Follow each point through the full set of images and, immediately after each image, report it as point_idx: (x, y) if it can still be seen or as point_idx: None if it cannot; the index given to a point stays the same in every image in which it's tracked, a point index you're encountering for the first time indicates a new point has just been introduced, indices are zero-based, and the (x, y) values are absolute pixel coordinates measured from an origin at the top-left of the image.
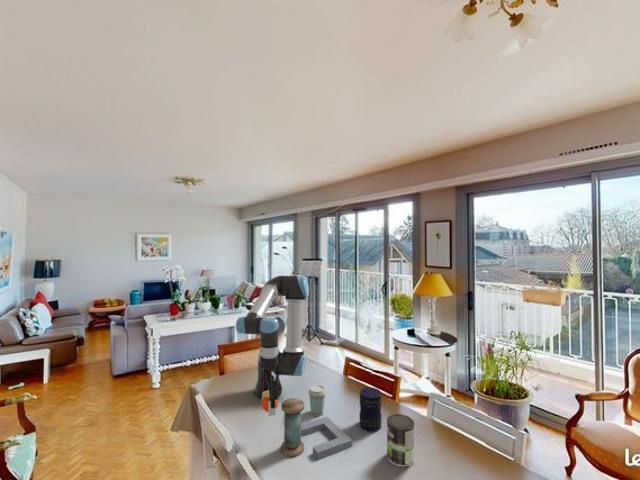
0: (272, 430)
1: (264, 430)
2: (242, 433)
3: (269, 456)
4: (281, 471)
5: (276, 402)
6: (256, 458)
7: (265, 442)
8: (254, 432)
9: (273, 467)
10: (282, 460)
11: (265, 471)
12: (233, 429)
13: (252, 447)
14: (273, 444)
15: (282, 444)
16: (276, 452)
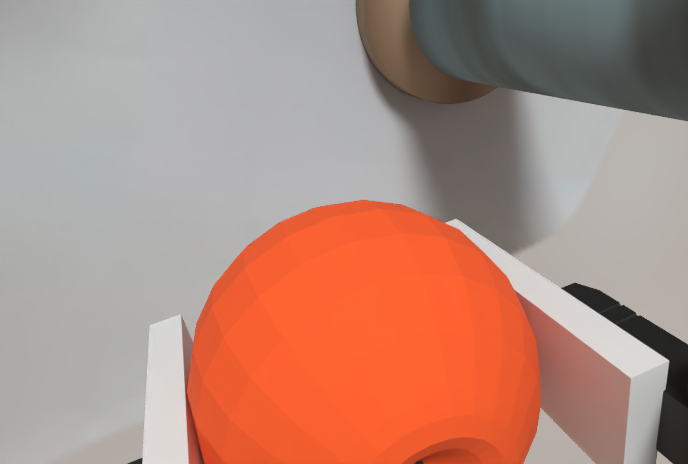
0: (113, 138)
1: (101, 214)
2: (123, 385)
3: (452, 187)
4: (596, 125)
5: (496, 268)
6: None
7: (291, 209)
8: (123, 298)
9: (549, 169)
10: (519, 104)
11: (557, 216)
12: (47, 457)
13: None
14: (334, 149)
15: (418, 86)
16: (431, 136)
